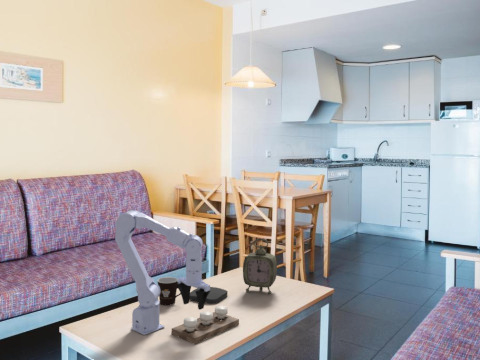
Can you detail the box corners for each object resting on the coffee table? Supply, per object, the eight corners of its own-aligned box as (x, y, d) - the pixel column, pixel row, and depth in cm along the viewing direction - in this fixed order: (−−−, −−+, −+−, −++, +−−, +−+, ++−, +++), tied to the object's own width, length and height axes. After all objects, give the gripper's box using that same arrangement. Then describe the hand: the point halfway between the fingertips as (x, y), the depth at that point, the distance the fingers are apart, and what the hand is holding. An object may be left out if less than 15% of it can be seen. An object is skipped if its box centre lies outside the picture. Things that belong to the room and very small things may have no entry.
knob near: (189, 334, 155) (190, 323, 154) (180, 330, 158) (180, 319, 158) (199, 330, 158) (200, 319, 158) (190, 326, 161) (190, 316, 161)
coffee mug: (153, 304, 189) (153, 281, 188) (165, 298, 197) (165, 276, 196) (175, 309, 184) (175, 285, 183) (187, 302, 191) (187, 280, 191)
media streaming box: (214, 305, 189) (215, 298, 189) (185, 300, 196) (185, 293, 196) (230, 295, 203) (230, 289, 202) (202, 290, 209) (202, 284, 209)
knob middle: (206, 327, 161) (206, 317, 160) (197, 323, 164) (197, 313, 164) (215, 323, 164) (215, 313, 164) (206, 320, 168) (206, 310, 167)
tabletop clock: (242, 292, 206) (243, 239, 204) (247, 287, 214) (248, 235, 213) (273, 296, 202) (274, 241, 200) (277, 290, 210) (278, 238, 208)
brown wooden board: (194, 344, 152) (194, 338, 152) (171, 333, 159) (171, 328, 159) (238, 324, 169) (238, 319, 169) (215, 316, 177) (216, 311, 177)
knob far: (221, 321, 167) (221, 311, 167) (212, 317, 170) (212, 308, 170) (229, 317, 170) (230, 307, 170) (220, 314, 174) (220, 304, 173)
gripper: (216, 271, 161) (215, 308, 162) (187, 264, 170) (187, 298, 171) (202, 275, 155) (201, 313, 156) (174, 267, 164) (173, 303, 165)
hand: (193, 306), depth 163 cm, fingers open, 7 cm apart
